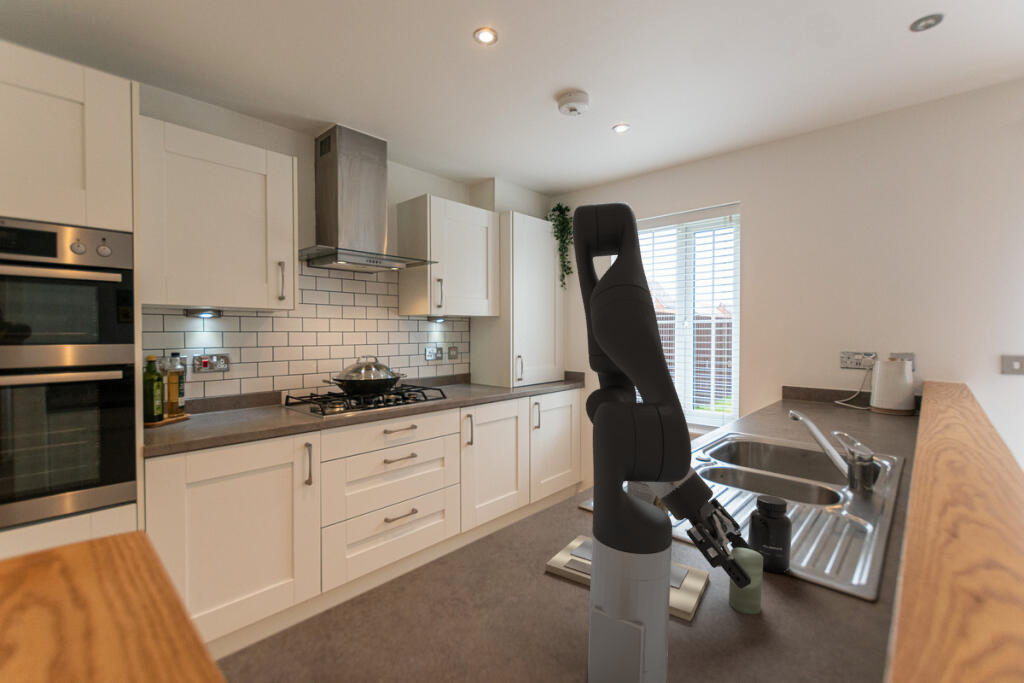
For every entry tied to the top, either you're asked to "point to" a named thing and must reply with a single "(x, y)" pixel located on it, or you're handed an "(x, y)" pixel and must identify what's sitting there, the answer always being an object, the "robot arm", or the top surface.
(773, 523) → the supplement bottle
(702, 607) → the top surface
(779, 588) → the top surface
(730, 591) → the green cylinder
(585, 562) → the board
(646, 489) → the coffee box
